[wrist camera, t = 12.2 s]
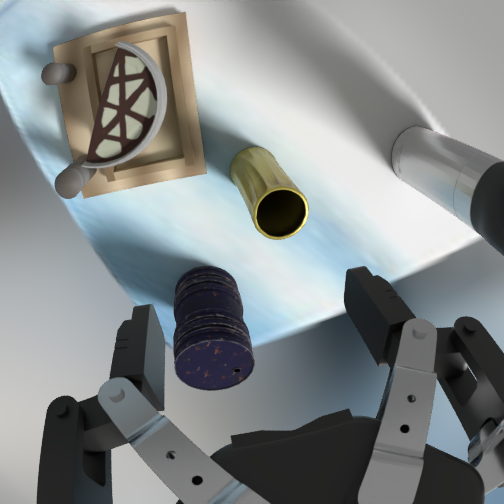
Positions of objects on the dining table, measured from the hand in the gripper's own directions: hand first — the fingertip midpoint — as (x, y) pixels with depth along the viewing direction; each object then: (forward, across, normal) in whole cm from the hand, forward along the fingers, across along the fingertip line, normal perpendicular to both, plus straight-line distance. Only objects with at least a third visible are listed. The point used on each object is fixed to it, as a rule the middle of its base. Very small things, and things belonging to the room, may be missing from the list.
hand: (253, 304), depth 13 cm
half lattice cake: (+28, +7, -7) cm, 30 cm away
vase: (+30, -5, +4) cm, 31 cm away
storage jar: (+30, +4, +22) cm, 38 cm away
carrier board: (+30, +9, -7) cm, 32 cm away
